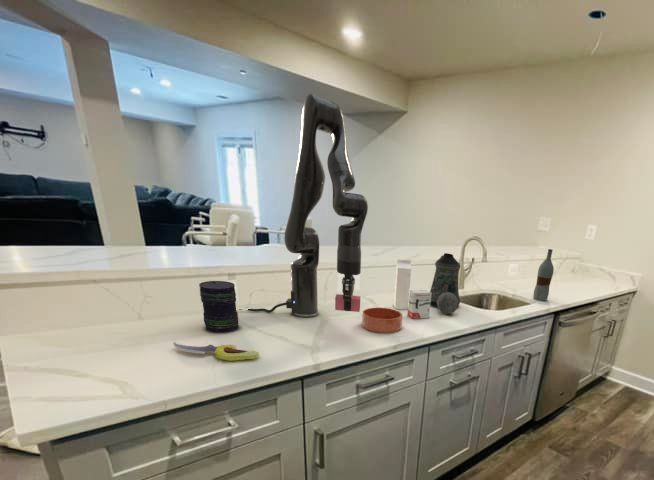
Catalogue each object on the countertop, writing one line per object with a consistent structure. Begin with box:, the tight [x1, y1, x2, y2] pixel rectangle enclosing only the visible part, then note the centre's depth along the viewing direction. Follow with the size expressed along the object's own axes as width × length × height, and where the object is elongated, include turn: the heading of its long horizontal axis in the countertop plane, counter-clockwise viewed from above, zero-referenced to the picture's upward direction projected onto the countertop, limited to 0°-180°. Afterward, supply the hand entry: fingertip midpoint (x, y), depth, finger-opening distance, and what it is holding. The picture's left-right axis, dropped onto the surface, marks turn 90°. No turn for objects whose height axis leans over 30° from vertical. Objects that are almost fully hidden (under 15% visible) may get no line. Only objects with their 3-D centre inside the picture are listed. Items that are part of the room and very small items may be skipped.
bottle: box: [532, 248, 555, 302], centre depth 229 cm, size 9×9×30 cm
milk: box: [393, 259, 412, 310], centre depth 175 cm, size 6×6×22 cm
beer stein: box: [430, 252, 461, 309], centre depth 189 cm, size 16×19×25 cm
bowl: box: [361, 307, 403, 334], centre depth 150 cm, size 15×15×6 cm
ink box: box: [407, 288, 432, 320], centre depth 167 cm, size 8×5×12 cm, turn 123°
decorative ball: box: [437, 292, 459, 315], centre depth 178 cm, size 10×10×10 cm
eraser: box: [334, 293, 362, 313], centre depth 131 cm, size 8×4×4 cm, turn 102°
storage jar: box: [198, 280, 240, 334], centre depth 126 cm, size 10×10×15 cm
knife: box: [172, 342, 260, 361], centre depth 110 cm, size 8×3×25 cm
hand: (347, 308), depth 132 cm, fingers closed on eraser, 4 cm apart
